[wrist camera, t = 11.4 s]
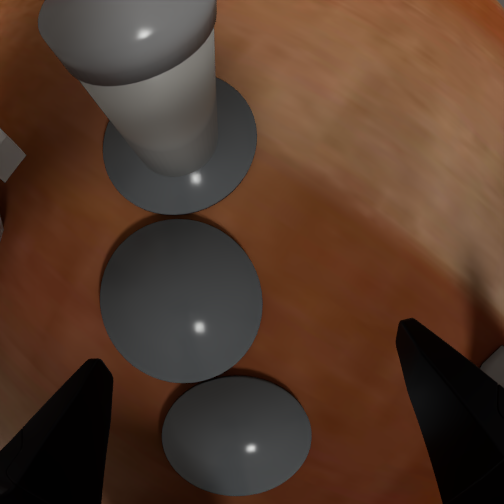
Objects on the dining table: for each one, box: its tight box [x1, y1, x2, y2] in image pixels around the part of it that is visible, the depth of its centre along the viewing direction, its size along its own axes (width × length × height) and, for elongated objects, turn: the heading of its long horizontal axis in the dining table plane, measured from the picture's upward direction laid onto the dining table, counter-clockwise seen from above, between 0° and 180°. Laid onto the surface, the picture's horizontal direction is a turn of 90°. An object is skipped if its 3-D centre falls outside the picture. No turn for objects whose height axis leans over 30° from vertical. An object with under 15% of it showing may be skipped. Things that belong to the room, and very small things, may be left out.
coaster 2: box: [162, 375, 311, 496], centre depth 19 cm, size 10×10×1 cm
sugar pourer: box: [38, 0, 218, 177], centre depth 12 cm, size 5×5×13 cm
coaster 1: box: [103, 78, 257, 215], centre depth 19 cm, size 10×10×1 cm
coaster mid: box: [100, 219, 262, 383], centre depth 19 cm, size 10×10×1 cm
